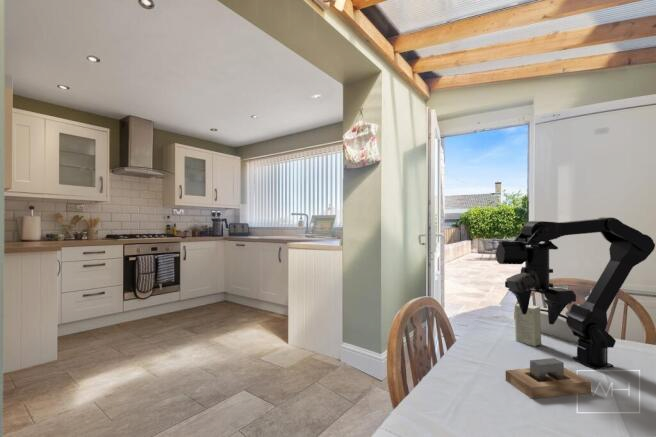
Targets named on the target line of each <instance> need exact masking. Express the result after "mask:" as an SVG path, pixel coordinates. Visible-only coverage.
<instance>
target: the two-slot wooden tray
mask: <svg viewBox="0 0 656 437" xmlns="http://www.w3.org/2000/svg"><path fill="white" fill-rule="evenodd" d="M505 381H506V382H507V383H509V384H510V385H511V386H512V387H514V388H515V389H517V390H518V391H520V392H521V393H523V394H524V395H526V396H527V397H529V398H530V399H531V400H532V399H533V400H534V399H541V398H549V397H558V396H559V397H560V396H567V395H568V396H569V395H576V394H585V393H586V394H587V393H591V392H592V381H591V380H590V379H588V378H586V377H583V376H582V375H580V374H577V373H575V371H572V370H570V369H568V368H566V367H564V380H556V379H554V378H552V377H550V376H549V375H548V373H546V382H537V381H536V380H534V379H533V378H531V377H530V367H529V368H517V369H507V370H506V369H505Z"/></svg>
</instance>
